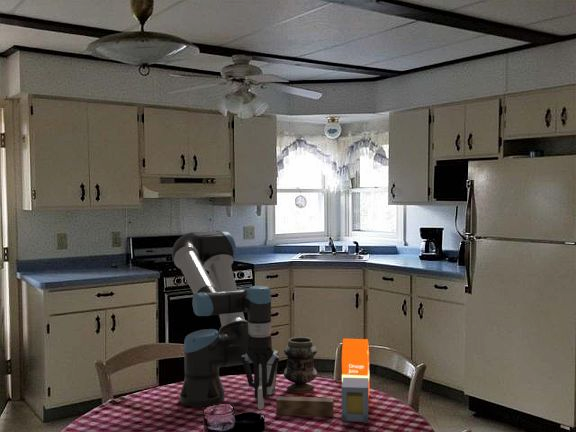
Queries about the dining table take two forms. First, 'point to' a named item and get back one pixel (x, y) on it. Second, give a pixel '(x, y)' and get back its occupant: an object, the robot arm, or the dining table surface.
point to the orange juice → (355, 359)
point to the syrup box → (269, 365)
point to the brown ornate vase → (300, 364)
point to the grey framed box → (355, 386)
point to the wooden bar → (305, 406)
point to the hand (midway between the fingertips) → (261, 407)
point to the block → (354, 402)
